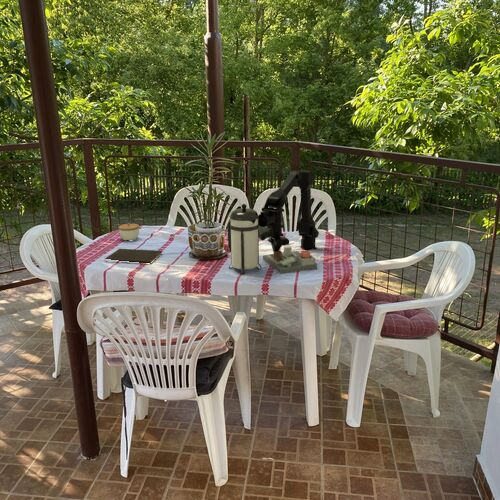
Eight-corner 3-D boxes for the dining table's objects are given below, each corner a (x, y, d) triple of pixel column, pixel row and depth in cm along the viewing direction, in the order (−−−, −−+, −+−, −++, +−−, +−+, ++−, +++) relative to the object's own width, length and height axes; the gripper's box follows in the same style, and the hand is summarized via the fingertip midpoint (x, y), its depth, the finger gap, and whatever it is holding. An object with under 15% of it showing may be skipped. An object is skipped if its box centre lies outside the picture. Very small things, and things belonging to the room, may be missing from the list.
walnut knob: (279, 258, 240) (279, 250, 239) (282, 260, 238) (282, 251, 237) (273, 259, 239) (273, 251, 238) (275, 261, 237) (275, 252, 236)
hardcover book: (119, 252, 261) (119, 248, 261) (162, 255, 257) (162, 250, 256) (105, 263, 246) (104, 258, 246) (150, 265, 242) (150, 261, 241)
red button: (307, 257, 236) (307, 250, 235) (311, 260, 233) (311, 252, 232) (299, 258, 235) (299, 251, 234) (303, 261, 231) (303, 253, 230)
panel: (297, 255, 252) (297, 245, 250) (317, 268, 233) (317, 257, 232) (262, 259, 246) (262, 249, 245) (280, 273, 227) (280, 262, 226)
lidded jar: (137, 242, 276) (136, 225, 274) (117, 242, 277) (116, 225, 274) (141, 237, 287) (140, 220, 284) (122, 237, 287) (121, 220, 284)
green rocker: (292, 258, 233) (291, 256, 232) (295, 260, 230) (295, 258, 229) (280, 263, 231) (279, 261, 231) (283, 265, 228) (282, 263, 228)
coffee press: (265, 263, 240) (264, 200, 231) (257, 275, 225) (257, 208, 216) (229, 261, 244) (227, 199, 235) (219, 273, 229) (217, 206, 220)
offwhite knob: (289, 253, 247) (289, 245, 246) (291, 255, 245) (291, 247, 244) (283, 254, 246) (283, 246, 245) (285, 256, 244) (285, 247, 243)
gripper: (252, 219, 242) (252, 251, 247) (266, 229, 225) (266, 263, 230) (274, 217, 246) (274, 248, 250) (289, 226, 229) (289, 260, 233)
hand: (275, 255), depth 241 cm, fingers closed
